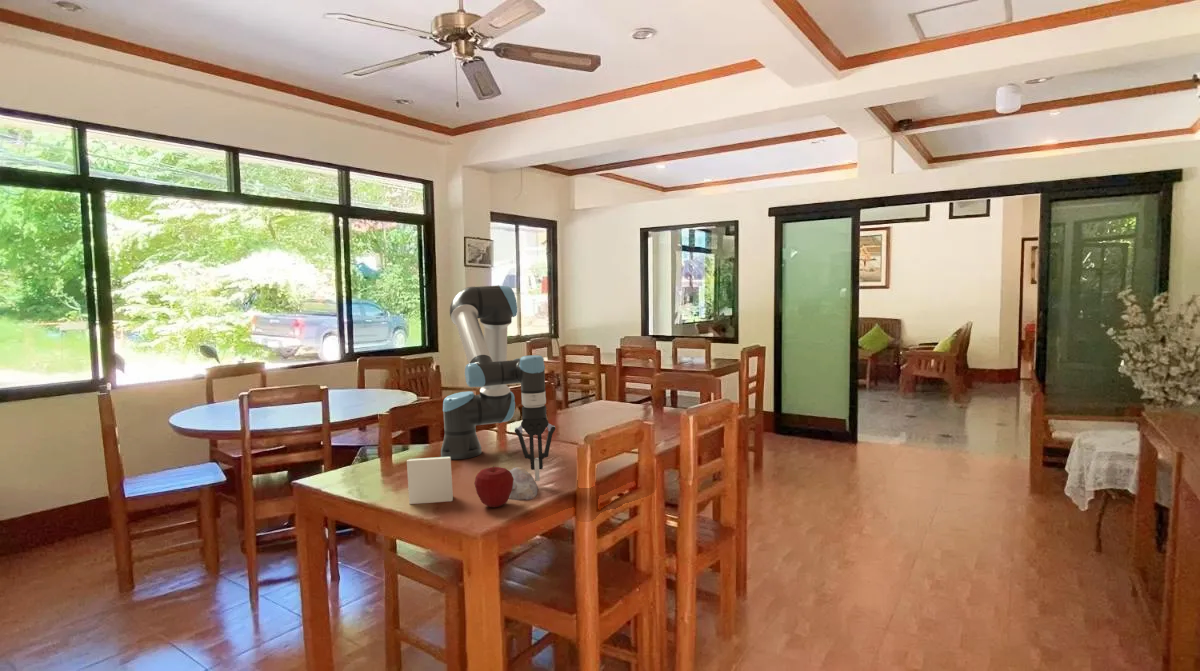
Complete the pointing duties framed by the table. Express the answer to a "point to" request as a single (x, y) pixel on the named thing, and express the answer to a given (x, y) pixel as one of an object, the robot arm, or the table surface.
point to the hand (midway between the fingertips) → (537, 479)
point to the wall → (429, 480)
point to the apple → (494, 486)
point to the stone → (522, 485)
